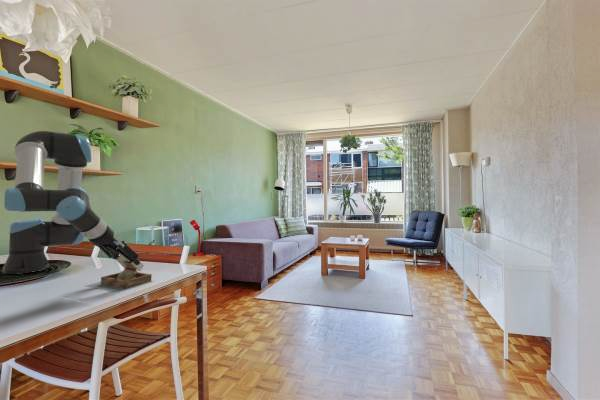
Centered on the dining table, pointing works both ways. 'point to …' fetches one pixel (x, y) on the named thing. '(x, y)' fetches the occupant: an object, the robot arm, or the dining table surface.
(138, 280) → the brown wooden tray
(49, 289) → the dining table surface
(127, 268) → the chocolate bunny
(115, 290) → the mat
